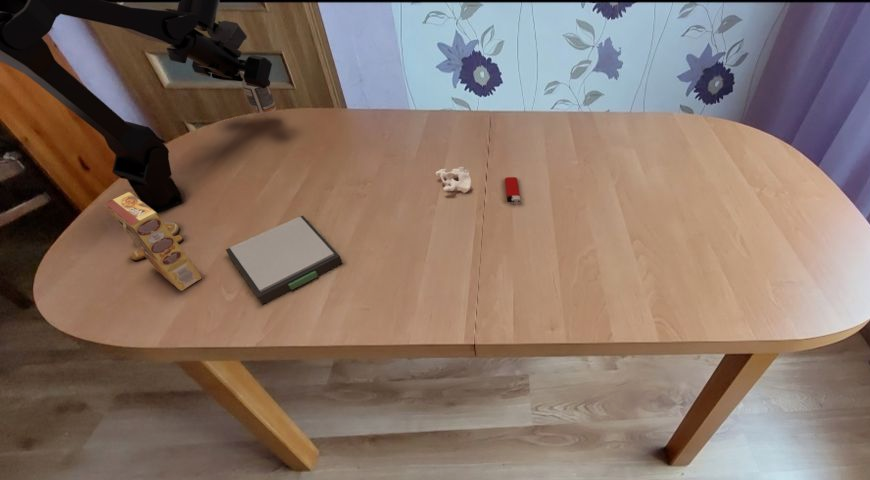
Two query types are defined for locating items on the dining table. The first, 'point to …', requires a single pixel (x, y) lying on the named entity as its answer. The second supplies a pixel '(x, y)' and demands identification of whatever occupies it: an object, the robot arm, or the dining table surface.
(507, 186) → the lighter
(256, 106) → the pill bottle
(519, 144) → the dining table surface
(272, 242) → the kitchen scale
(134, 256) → the cookie
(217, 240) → the dining table surface
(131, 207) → the candy box
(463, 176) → the hip bone replica
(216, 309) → the dining table surface
